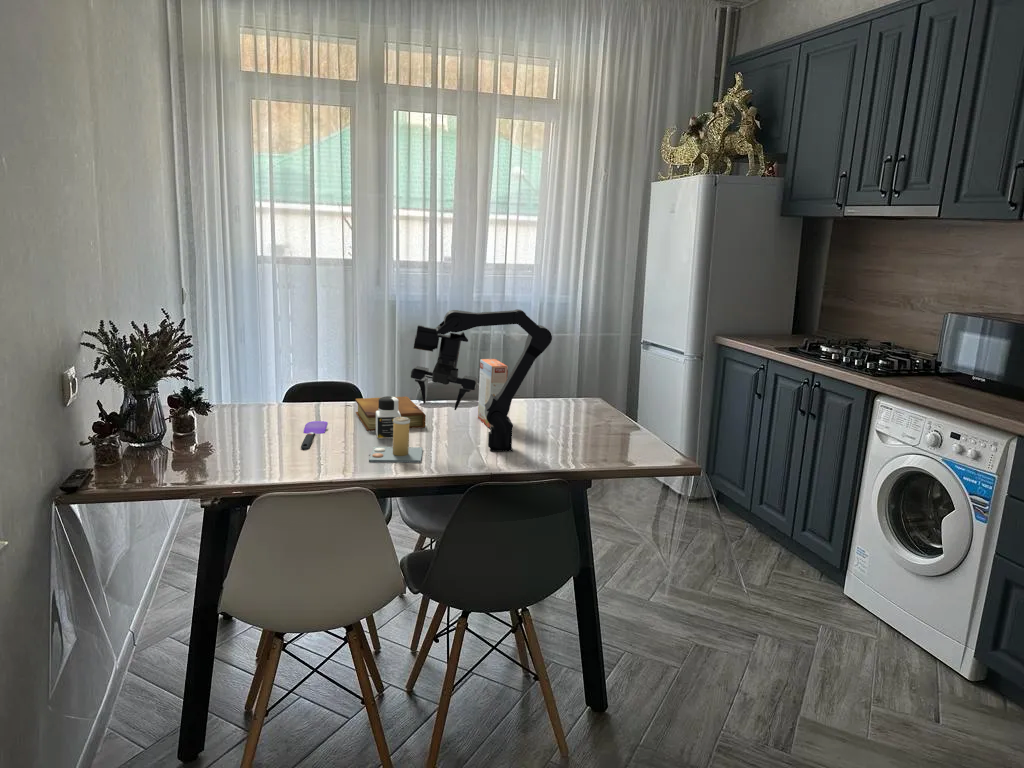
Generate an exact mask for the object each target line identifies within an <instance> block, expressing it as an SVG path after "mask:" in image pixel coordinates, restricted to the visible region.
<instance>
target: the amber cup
mask: <svg viewBox="0 0 1024 768" xmlns="http://www.w3.org/2000/svg"><path fill="white" fill-rule="evenodd" d="M393 423H394V424H393V438H392V447H393V454H394V455H396V456H405V455H408V451H409V447H410V444H409V443H410V429H409V423H410V419H409V418H406V417H396V418H394V419H393Z"/></svg>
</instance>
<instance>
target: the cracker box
mask: <svg viewBox="0 0 1024 768" xmlns="http://www.w3.org/2000/svg"><path fill="white" fill-rule="evenodd" d="M508 370H509V366H508V365H506V364H505V363H503V362H501V361H499V360H498V359H496V358H481V359H480V360H479V380H478V383H479V384H478V386H479V387H478V403H477V404H478V405H477V418H478V420H479V421H481V422H482V423H483V424H484V425H485V426H486V427H488V428H489V429H491V427H493V425H491V424H489V422H488V421H487V418H486V416H485V404H486V403H487V402H488V400H489V398H490V395H491V394H492V395H493V396H496V395H497V394H498V393H499V392H500V391H501V389H502V387H503V386H504V384H505V382H506V381H507V379H508V372H509V371H508Z"/></svg>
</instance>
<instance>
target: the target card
mask: <svg viewBox="0 0 1024 768" xmlns="http://www.w3.org/2000/svg"><path fill="white" fill-rule="evenodd" d="M422 455H423V447H421V446H420V447H417V446H416V447H413V446H411V447H410V446H409V451H408V455H405V456H396V455H394V454H393V446H373V448H372V450H371V454H370V457H369V459H368V462H370V463H417V462H419V463H420V462H421V463H422ZM419 463H418V464H419Z"/></svg>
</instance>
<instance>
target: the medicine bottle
mask: <svg viewBox="0 0 1024 768" xmlns="http://www.w3.org/2000/svg"><path fill="white" fill-rule="evenodd" d="M395 397H396V396H382V397H379V398H380V399H379V406H378V410H379V411H376V431H375V434H376V437H377V439H380V440H381V439H393V424H394V423H393V419H394V418H396V417H401V415H400V412H399V411H398V401H399V400H398V399H397V398H395Z"/></svg>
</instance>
